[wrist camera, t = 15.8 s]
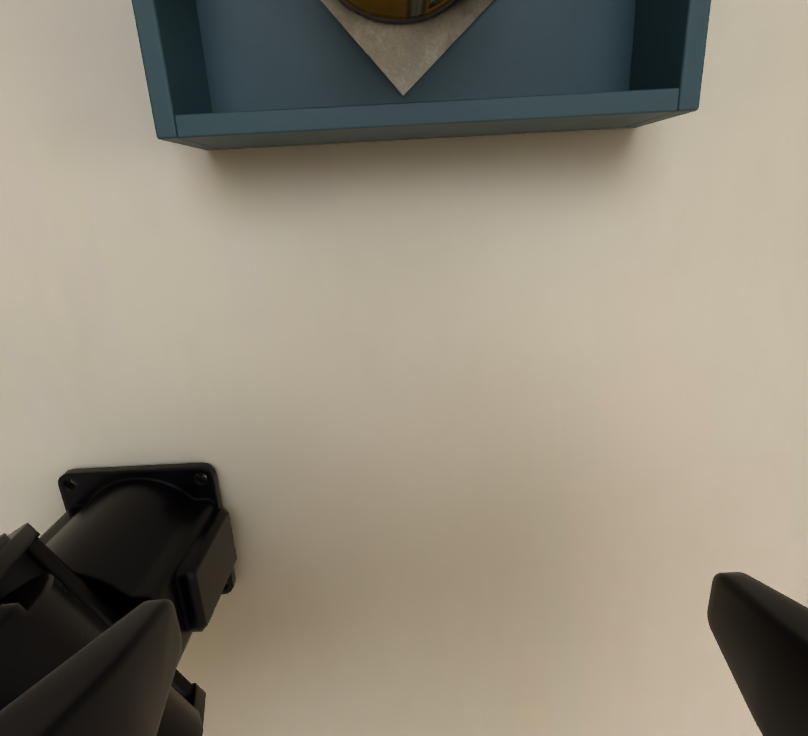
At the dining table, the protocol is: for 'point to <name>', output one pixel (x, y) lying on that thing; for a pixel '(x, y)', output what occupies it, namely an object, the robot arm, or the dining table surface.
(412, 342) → the dining table surface
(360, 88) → the tote
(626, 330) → the dining table surface
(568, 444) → the dining table surface
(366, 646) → the dining table surface
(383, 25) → the condiment
